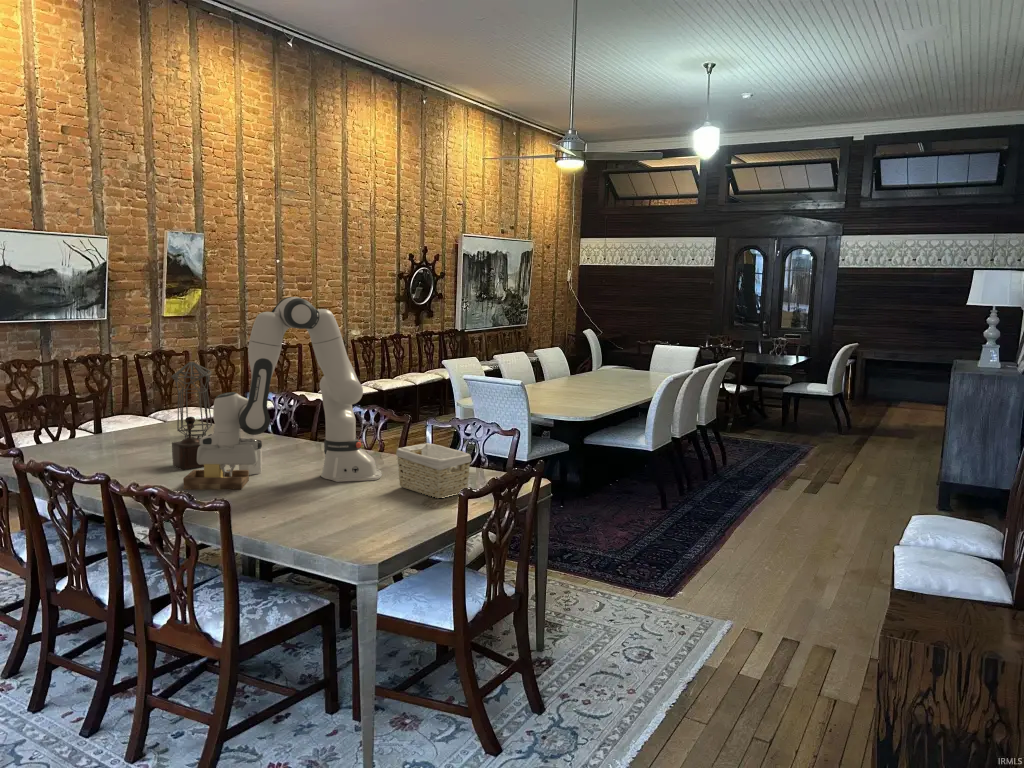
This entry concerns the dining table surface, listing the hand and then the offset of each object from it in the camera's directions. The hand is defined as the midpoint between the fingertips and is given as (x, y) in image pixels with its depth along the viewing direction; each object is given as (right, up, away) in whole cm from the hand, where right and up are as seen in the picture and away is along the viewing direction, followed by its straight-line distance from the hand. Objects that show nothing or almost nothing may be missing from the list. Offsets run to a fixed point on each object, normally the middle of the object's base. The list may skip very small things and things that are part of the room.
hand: (227, 476), depth 269 cm
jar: (+2, -1, +19) cm, 19 cm away
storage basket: (+73, -6, +2) cm, 73 cm away
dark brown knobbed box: (-26, +1, +28) cm, 38 cm away
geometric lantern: (-45, +8, +77) cm, 90 cm away
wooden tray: (-3, -3, 0) cm, 4 cm away
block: (-5, -1, 0) cm, 5 cm away
